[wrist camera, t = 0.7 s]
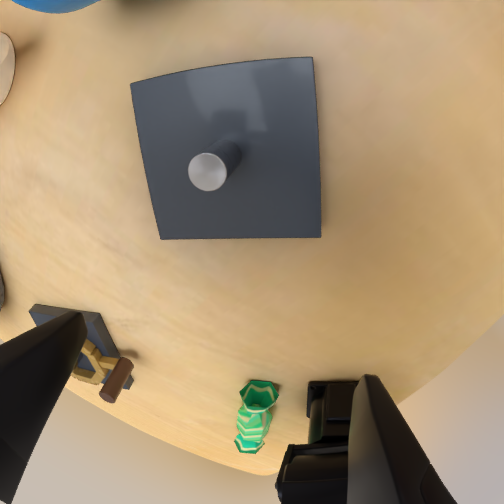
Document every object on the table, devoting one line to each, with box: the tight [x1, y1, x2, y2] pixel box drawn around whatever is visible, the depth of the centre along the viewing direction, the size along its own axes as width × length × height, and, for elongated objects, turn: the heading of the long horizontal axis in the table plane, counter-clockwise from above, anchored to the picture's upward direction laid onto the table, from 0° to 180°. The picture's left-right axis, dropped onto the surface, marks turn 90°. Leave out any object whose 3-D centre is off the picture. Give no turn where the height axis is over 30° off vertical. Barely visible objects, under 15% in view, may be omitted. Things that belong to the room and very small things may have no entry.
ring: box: [71, 338, 134, 403], centre depth 30 cm, size 13×9×5 cm
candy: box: [234, 380, 279, 454], centre depth 32 cm, size 12×3×4 cm
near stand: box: [130, 57, 321, 240], centre depth 17 cm, size 11×11×5 cm
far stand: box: [29, 304, 133, 390], centre depth 31 cm, size 11×11×5 cm
